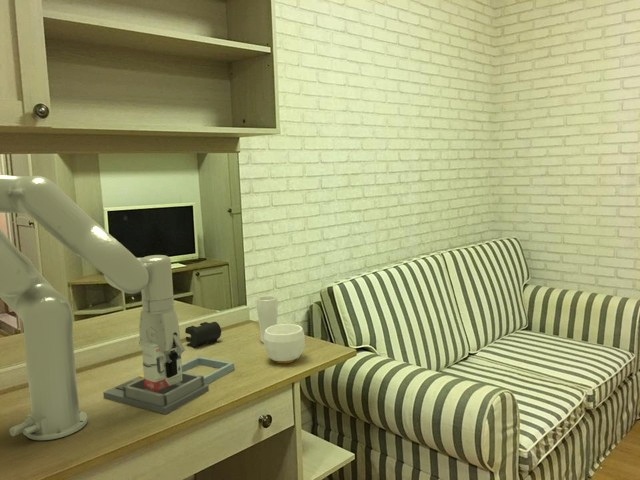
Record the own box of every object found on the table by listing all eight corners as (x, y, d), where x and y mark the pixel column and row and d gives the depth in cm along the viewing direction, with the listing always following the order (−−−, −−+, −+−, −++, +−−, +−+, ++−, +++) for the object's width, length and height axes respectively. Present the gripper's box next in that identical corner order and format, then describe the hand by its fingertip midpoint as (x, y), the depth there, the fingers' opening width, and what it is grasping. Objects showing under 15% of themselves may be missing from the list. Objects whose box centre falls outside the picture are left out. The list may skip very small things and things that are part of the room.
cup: (256, 361, 155) (254, 330, 154) (286, 350, 164) (285, 321, 163) (283, 370, 146) (282, 338, 145) (314, 359, 155) (312, 328, 154)
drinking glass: (254, 341, 174) (252, 298, 172) (270, 336, 178) (268, 294, 177) (266, 345, 169) (264, 301, 167) (282, 341, 173) (281, 297, 172)
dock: (166, 414, 121) (164, 398, 121) (103, 397, 132) (102, 382, 131) (208, 390, 134) (207, 376, 134) (148, 377, 145) (147, 363, 144)
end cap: (198, 350, 167) (197, 329, 167) (185, 346, 172) (183, 326, 171) (222, 342, 175) (221, 322, 174) (208, 338, 179) (207, 319, 179)
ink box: (156, 392, 126) (152, 346, 125) (143, 388, 129) (140, 342, 128) (184, 381, 133) (181, 336, 132) (172, 377, 136) (168, 333, 135)
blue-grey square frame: (202, 386, 137) (202, 379, 137) (165, 378, 143) (165, 371, 143) (234, 369, 149) (234, 363, 148) (199, 362, 155) (198, 356, 155)
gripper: (122, 305, 130) (128, 374, 132) (172, 311, 121) (177, 385, 123) (145, 298, 136) (150, 364, 138) (194, 304, 128) (199, 374, 130)
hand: (163, 373), depth 131 cm, fingers closed on ink box, 5 cm apart
